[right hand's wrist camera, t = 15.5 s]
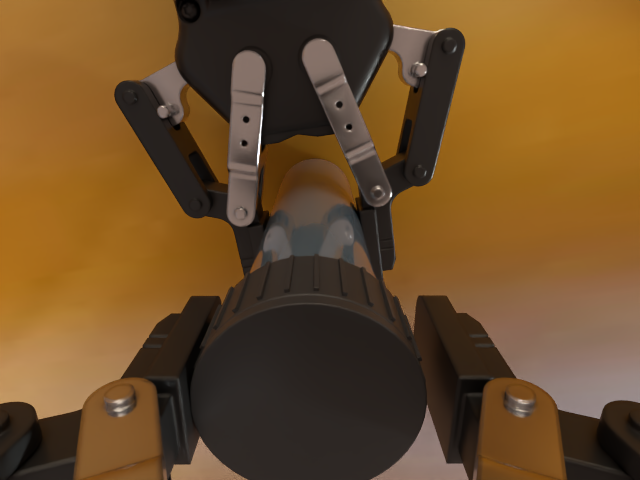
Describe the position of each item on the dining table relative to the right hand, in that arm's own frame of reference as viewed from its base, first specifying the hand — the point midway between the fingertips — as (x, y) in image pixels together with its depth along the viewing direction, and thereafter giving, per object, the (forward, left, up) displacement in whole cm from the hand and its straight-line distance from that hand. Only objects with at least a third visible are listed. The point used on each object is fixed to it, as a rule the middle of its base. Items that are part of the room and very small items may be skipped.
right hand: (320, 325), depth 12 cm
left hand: (-1, -3, -8) cm, 9 cm away
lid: (0, 0, +3) cm, 3 cm away
